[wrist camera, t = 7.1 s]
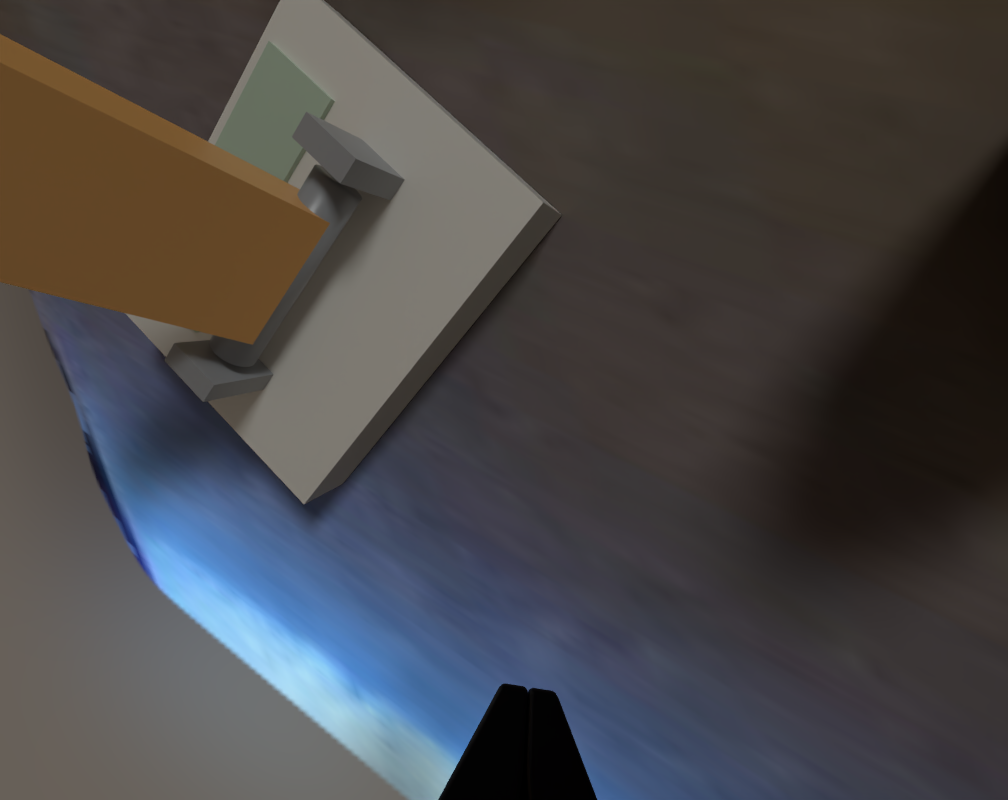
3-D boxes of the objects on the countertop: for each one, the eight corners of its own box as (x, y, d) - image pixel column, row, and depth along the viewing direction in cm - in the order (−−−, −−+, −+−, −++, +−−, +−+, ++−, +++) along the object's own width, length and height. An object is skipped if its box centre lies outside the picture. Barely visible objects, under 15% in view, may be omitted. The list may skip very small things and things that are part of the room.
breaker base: (561, 215, 18) (516, 183, 13) (342, 483, 23) (250, 533, 18) (340, 14, 19) (225, -82, 15) (176, 308, 24) (48, 311, 19)
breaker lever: (372, 212, 16) (-388, -201, 7) (263, 376, 19) (-414, 239, 9) (348, 177, 18) (-333, -218, 8) (248, 336, 20) (-368, 177, 10)
